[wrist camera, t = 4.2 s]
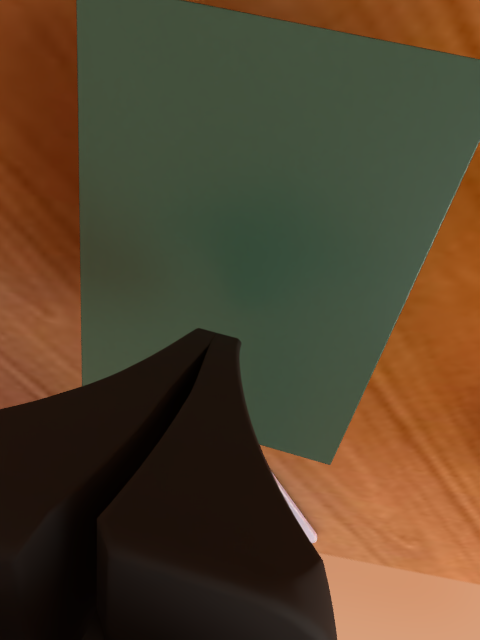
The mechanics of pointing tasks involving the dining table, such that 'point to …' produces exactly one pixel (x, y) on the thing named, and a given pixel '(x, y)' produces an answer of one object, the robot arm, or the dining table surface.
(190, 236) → the bread lid
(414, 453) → the dining table surface
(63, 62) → the dining table surface
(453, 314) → the dining table surface
